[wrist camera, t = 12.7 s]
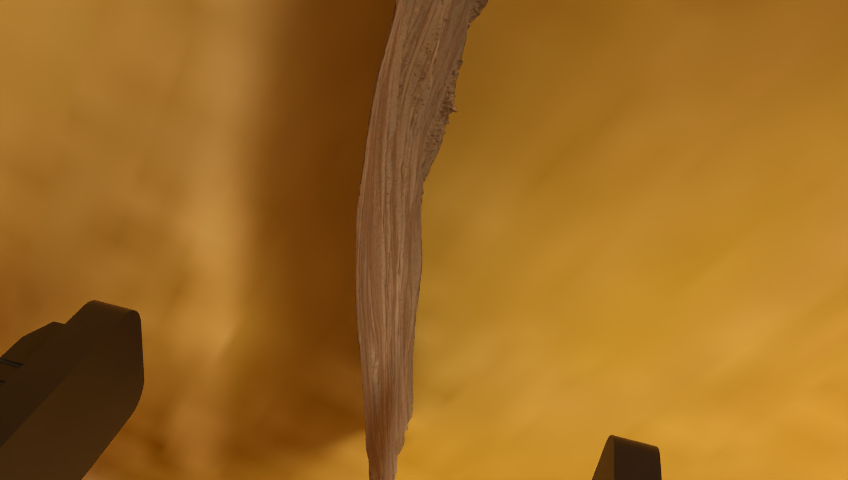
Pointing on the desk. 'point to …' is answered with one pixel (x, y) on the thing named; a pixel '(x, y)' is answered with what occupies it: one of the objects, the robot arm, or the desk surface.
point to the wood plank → (400, 207)
